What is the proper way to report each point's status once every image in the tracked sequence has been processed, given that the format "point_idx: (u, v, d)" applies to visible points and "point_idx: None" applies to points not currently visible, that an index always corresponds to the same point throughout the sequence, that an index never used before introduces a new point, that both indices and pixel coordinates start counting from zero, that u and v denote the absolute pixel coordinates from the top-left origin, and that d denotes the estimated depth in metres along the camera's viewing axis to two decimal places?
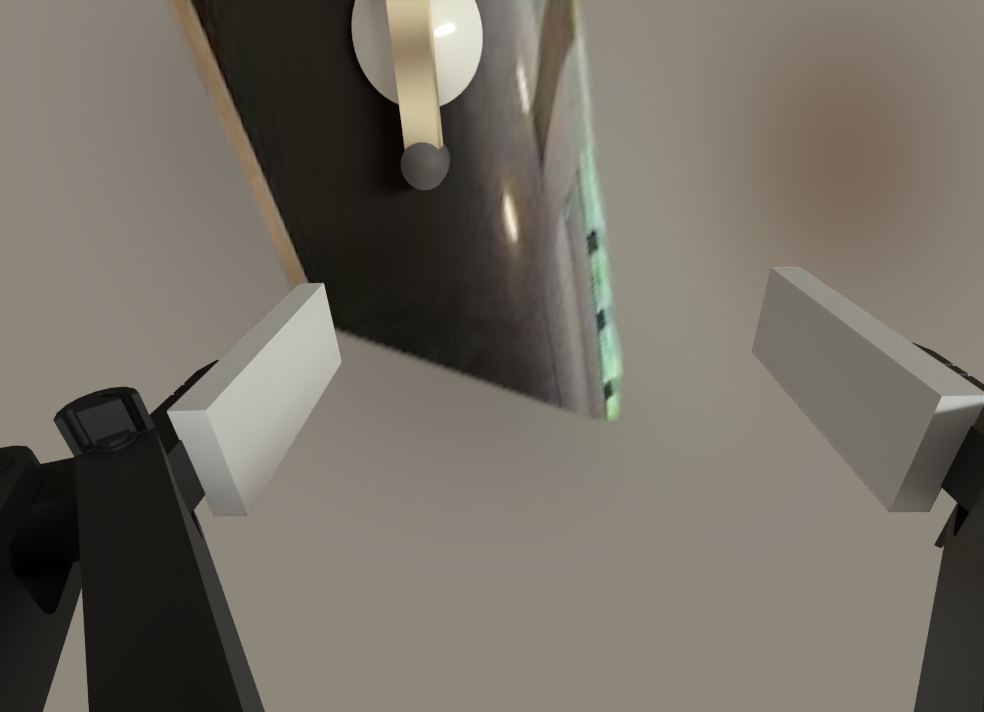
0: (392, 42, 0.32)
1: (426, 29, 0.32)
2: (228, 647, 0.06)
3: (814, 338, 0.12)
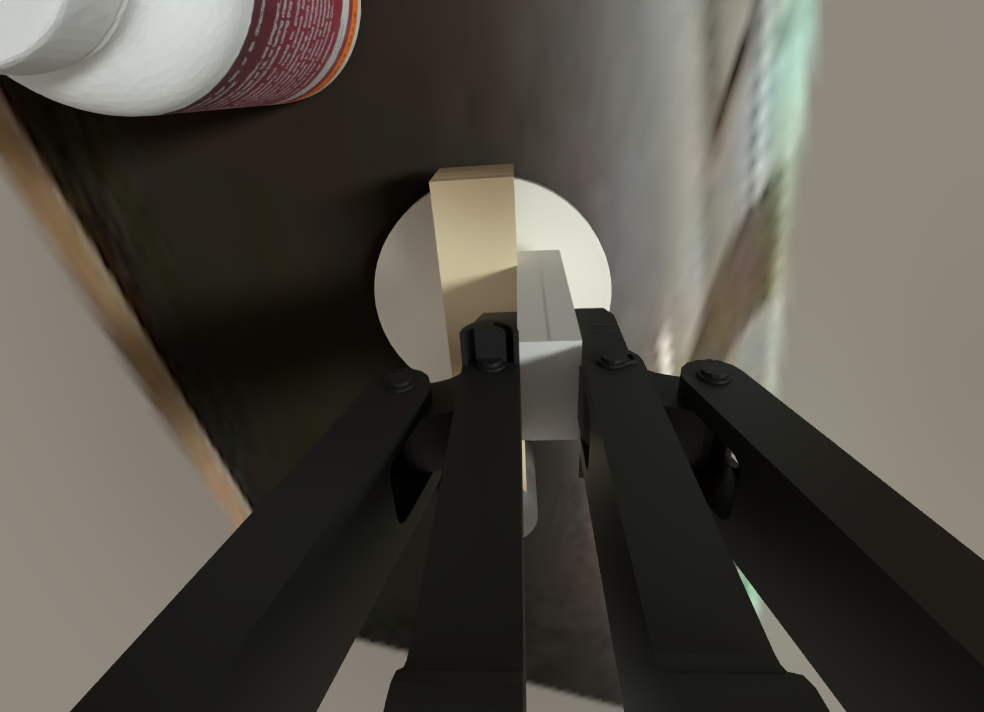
0: (451, 349, 0.17)
1: None
2: (523, 585, 0.06)
3: None
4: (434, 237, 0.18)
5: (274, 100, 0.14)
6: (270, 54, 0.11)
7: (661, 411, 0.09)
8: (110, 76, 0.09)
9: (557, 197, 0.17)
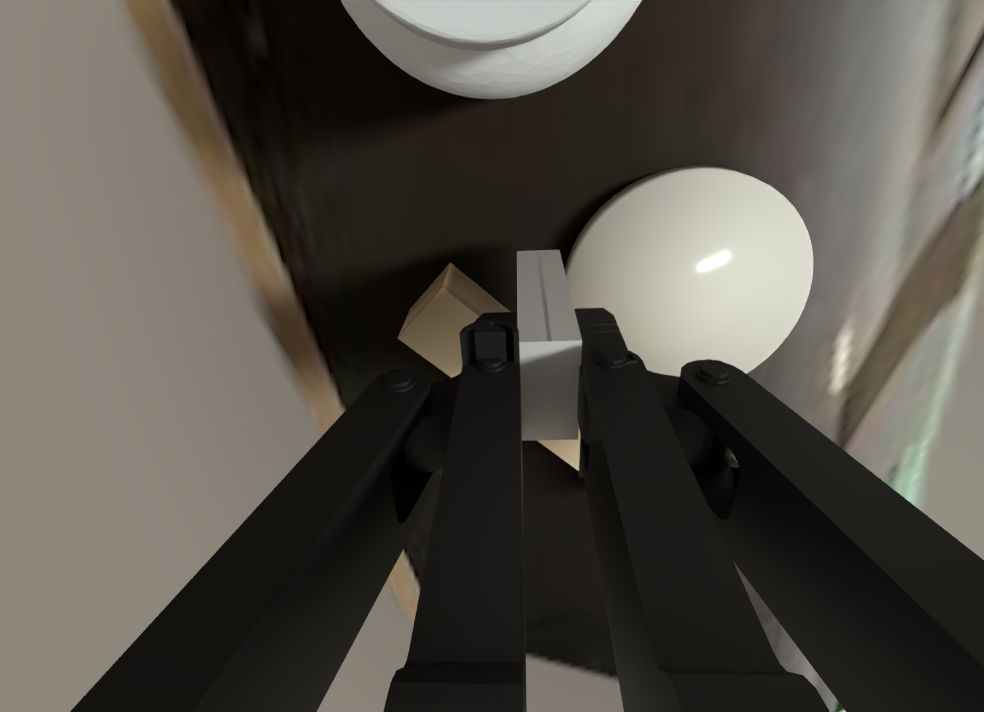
0: None
1: None
2: None
3: None
4: (638, 230, 0.18)
5: None
6: None
7: (661, 411, 0.09)
8: (521, 54, 0.08)
9: (773, 189, 0.17)
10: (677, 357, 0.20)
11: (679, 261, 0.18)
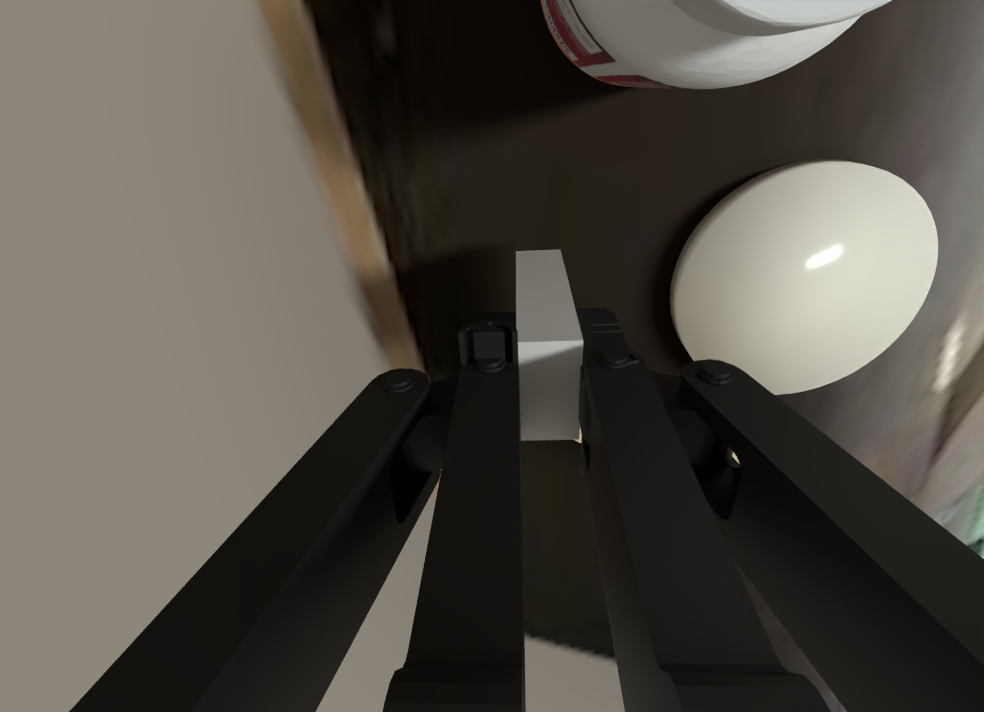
0: None
1: None
2: None
3: None
4: (761, 225, 0.17)
5: None
6: None
7: (662, 411, 0.09)
8: (770, 41, 0.08)
9: (904, 182, 0.17)
10: (787, 354, 0.20)
11: (799, 256, 0.18)
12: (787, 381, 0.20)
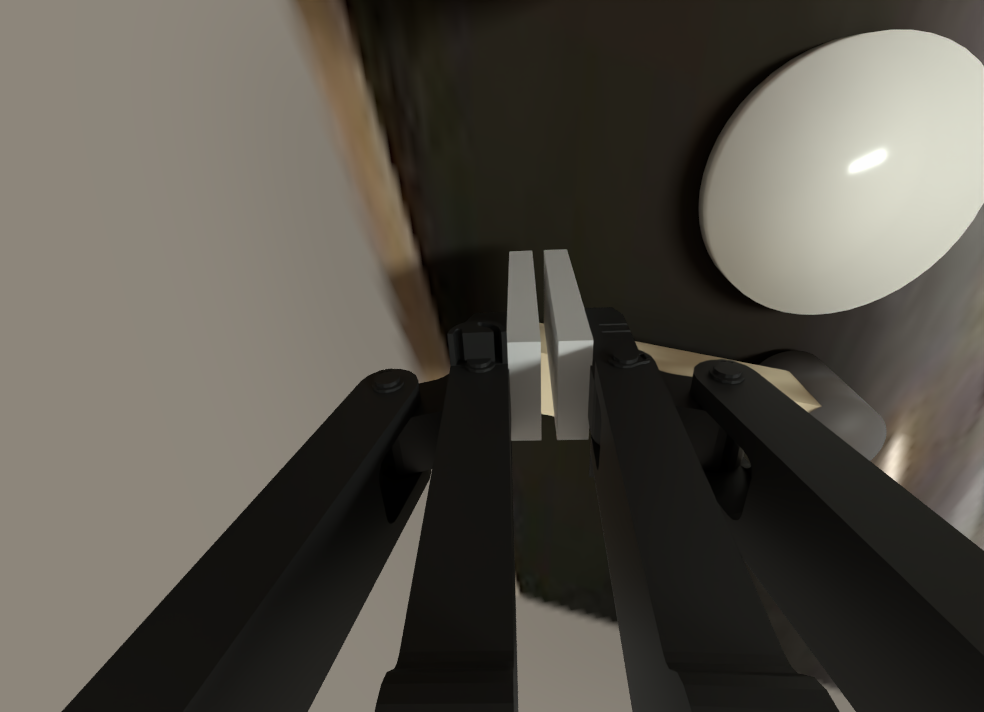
0: None
1: None
2: None
3: (548, 306, 0.15)
4: (804, 109, 0.16)
5: None
6: None
7: (673, 411, 0.09)
8: None
9: (967, 53, 0.15)
10: (829, 265, 0.18)
11: (846, 146, 0.16)
12: (829, 298, 0.19)
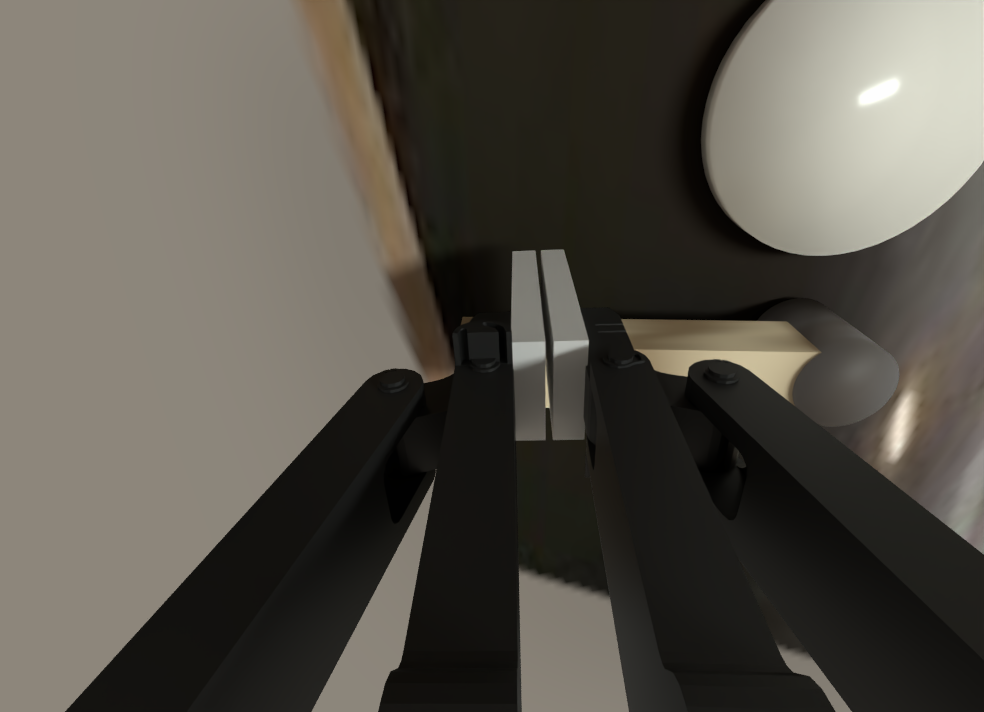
0: None
1: None
2: None
3: (545, 306, 0.15)
4: (815, 23, 0.15)
5: None
6: None
7: (668, 411, 0.09)
8: None
9: None
10: (839, 200, 0.17)
11: (859, 65, 0.15)
12: (838, 238, 0.18)
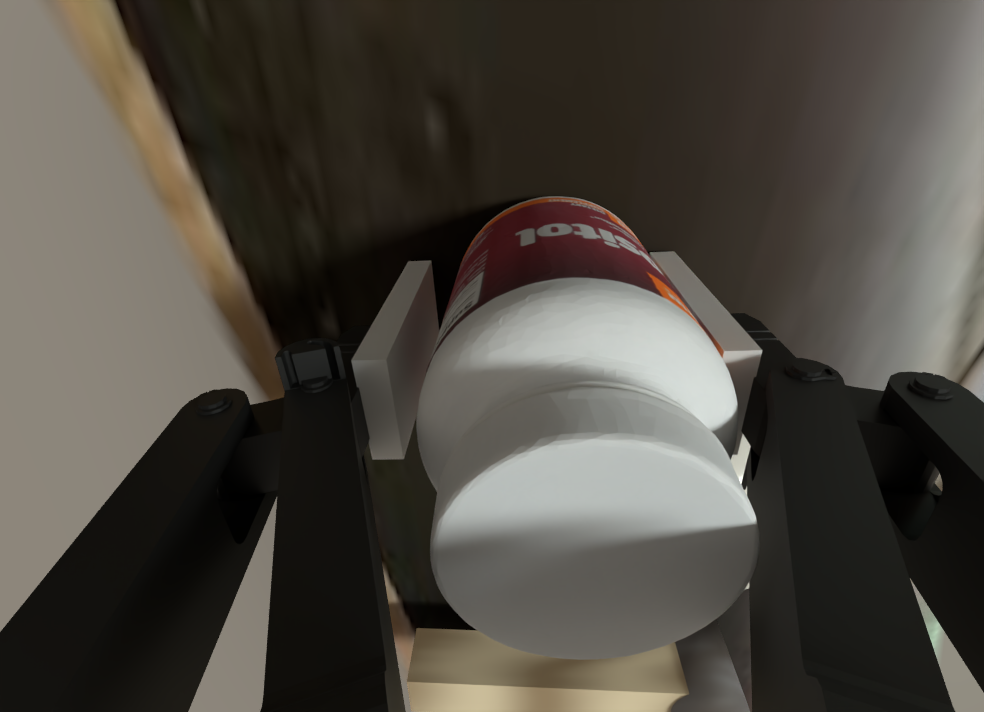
0: None
1: (519, 686, 0.21)
2: (379, 593, 0.06)
3: None
4: None
5: None
6: None
7: (856, 434, 0.08)
8: None
9: None
10: None
11: None
12: None
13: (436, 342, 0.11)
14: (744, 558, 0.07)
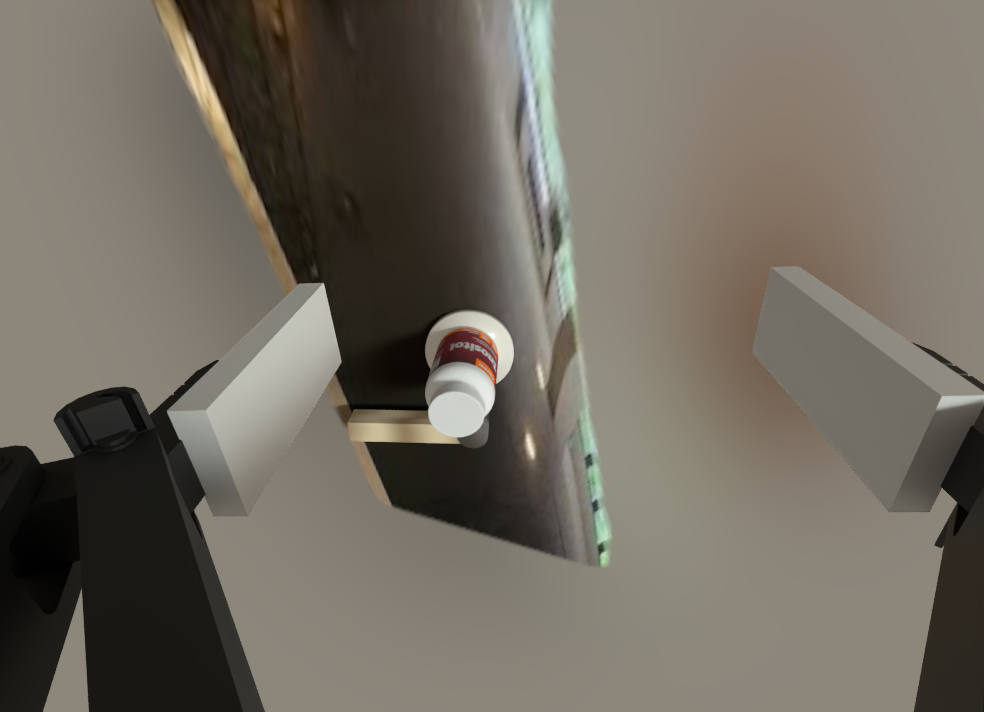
0: (401, 441, 0.53)
1: (393, 423, 0.52)
2: (228, 647, 0.06)
3: (814, 338, 0.12)
4: (447, 331, 0.50)
5: None
6: None
7: None
8: None
9: (491, 318, 0.49)
10: None
11: None
12: None
13: (429, 374, 0.45)
14: (480, 412, 0.41)
